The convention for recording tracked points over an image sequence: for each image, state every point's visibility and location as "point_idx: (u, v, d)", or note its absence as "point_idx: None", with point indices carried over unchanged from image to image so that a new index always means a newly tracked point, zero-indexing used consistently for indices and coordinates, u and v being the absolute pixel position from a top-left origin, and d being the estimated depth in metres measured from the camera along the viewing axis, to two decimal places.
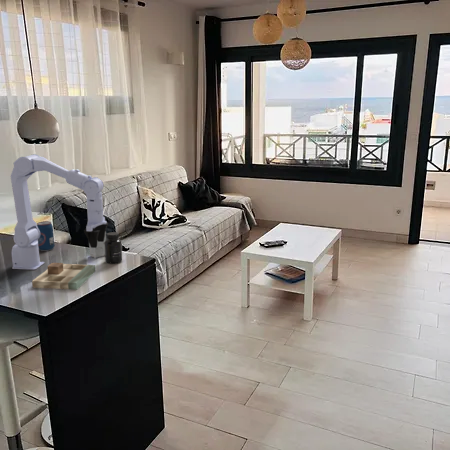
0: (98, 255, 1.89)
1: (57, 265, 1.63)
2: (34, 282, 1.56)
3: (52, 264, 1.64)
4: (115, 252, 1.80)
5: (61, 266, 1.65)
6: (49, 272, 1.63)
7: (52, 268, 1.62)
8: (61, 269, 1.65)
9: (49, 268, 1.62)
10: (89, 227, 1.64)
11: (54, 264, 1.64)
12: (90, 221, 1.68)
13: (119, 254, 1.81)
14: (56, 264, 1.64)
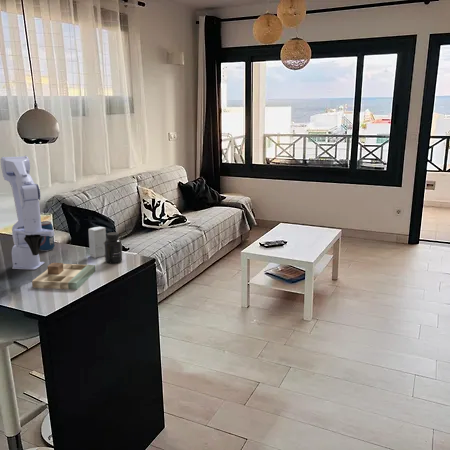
0: (98, 255, 1.89)
1: (57, 265, 1.63)
2: (34, 282, 1.56)
3: (52, 264, 1.64)
4: (115, 252, 1.80)
5: (61, 266, 1.65)
6: (49, 272, 1.63)
7: (52, 268, 1.62)
8: (61, 269, 1.65)
9: (49, 268, 1.62)
10: None
11: (54, 264, 1.64)
12: None
13: (119, 254, 1.81)
14: (56, 264, 1.64)
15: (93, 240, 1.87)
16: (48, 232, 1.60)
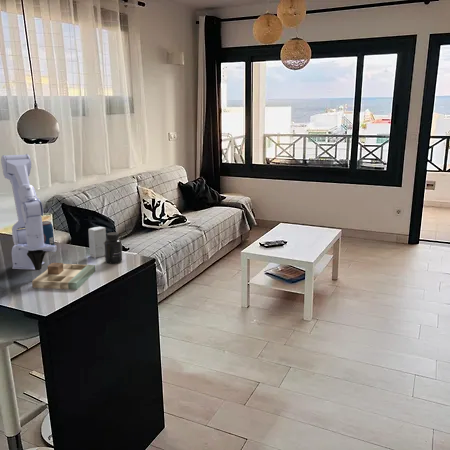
0: (98, 255, 1.89)
1: (57, 265, 1.63)
2: (34, 282, 1.56)
3: (52, 264, 1.64)
4: (115, 252, 1.80)
5: (61, 266, 1.65)
6: (49, 272, 1.63)
7: (52, 268, 1.62)
8: (61, 269, 1.65)
9: (49, 268, 1.62)
10: None
11: (54, 264, 1.64)
12: None
13: (119, 254, 1.81)
14: (56, 264, 1.64)
15: (93, 240, 1.87)
16: (51, 247, 1.61)
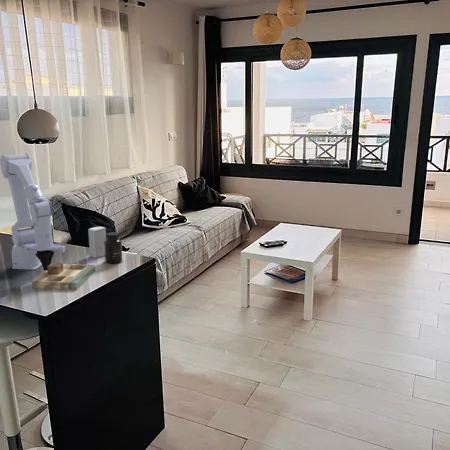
0: (98, 255, 1.89)
1: (57, 265, 1.63)
2: (34, 282, 1.56)
3: (52, 264, 1.64)
4: (115, 252, 1.80)
5: (61, 266, 1.65)
6: (49, 272, 1.63)
7: (52, 268, 1.62)
8: (61, 269, 1.65)
9: (49, 268, 1.62)
10: None
11: (54, 264, 1.64)
12: None
13: (119, 254, 1.81)
14: (56, 264, 1.64)
15: (93, 240, 1.87)
16: (59, 248, 1.61)
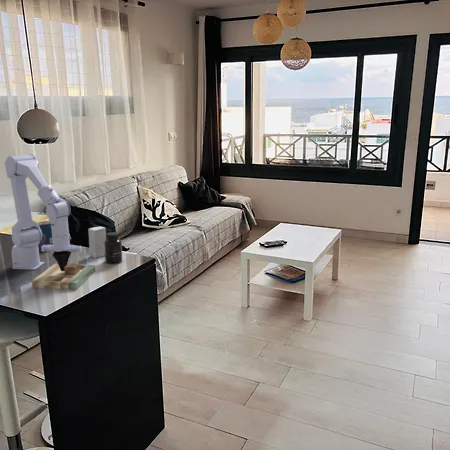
0: (98, 255, 1.89)
1: (74, 266, 1.63)
2: (34, 282, 1.56)
3: (69, 265, 1.64)
4: (115, 252, 1.80)
5: (78, 267, 1.64)
6: (66, 273, 1.62)
7: (69, 269, 1.62)
8: (78, 270, 1.64)
9: (66, 269, 1.62)
10: None
11: (70, 265, 1.64)
12: None
13: (119, 254, 1.81)
14: (73, 265, 1.64)
15: (93, 240, 1.87)
16: (76, 248, 1.60)
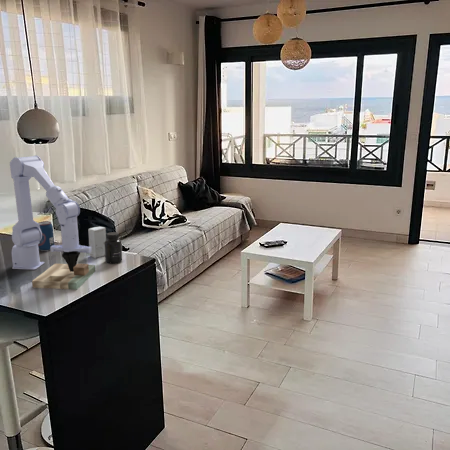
0: (98, 255, 1.89)
1: (83, 266, 1.62)
2: (34, 282, 1.56)
3: (78, 265, 1.63)
4: (115, 252, 1.80)
5: (87, 267, 1.64)
6: (75, 273, 1.62)
7: (78, 269, 1.62)
8: (87, 270, 1.64)
9: (75, 269, 1.62)
10: None
11: (80, 265, 1.63)
12: None
13: (119, 254, 1.81)
14: (82, 265, 1.63)
15: (93, 240, 1.87)
16: (86, 249, 1.60)
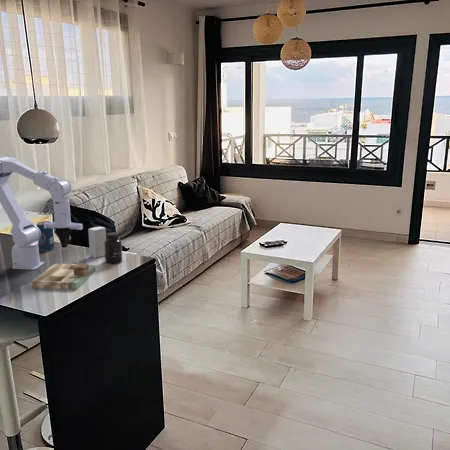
0: (98, 255, 1.89)
1: (83, 266, 1.62)
2: (34, 282, 1.56)
3: (78, 265, 1.63)
4: (115, 252, 1.80)
5: (87, 267, 1.64)
6: (75, 273, 1.62)
7: (78, 269, 1.62)
8: (87, 270, 1.64)
9: (75, 269, 1.62)
10: None
11: (80, 265, 1.63)
12: None
13: (119, 254, 1.81)
14: (82, 265, 1.63)
15: (93, 240, 1.87)
16: (77, 225, 1.68)
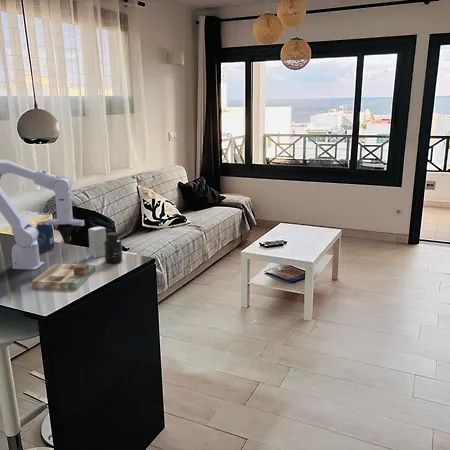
0: (98, 255, 1.89)
1: (83, 266, 1.62)
2: (34, 282, 1.56)
3: (78, 265, 1.63)
4: (115, 252, 1.80)
5: (87, 267, 1.64)
6: (75, 273, 1.62)
7: (78, 269, 1.62)
8: (87, 270, 1.64)
9: (75, 269, 1.62)
10: None
11: (80, 265, 1.63)
12: None
13: (119, 254, 1.81)
14: (82, 265, 1.63)
15: (93, 240, 1.87)
16: (79, 222, 1.73)
